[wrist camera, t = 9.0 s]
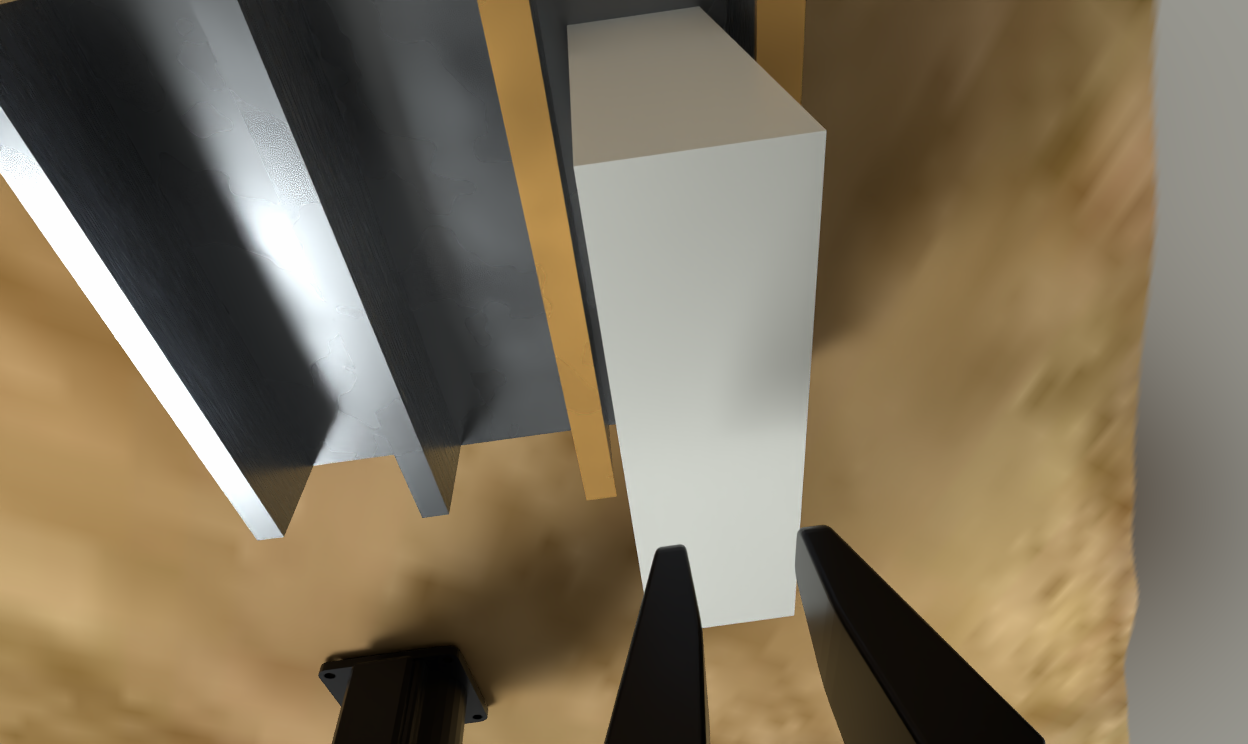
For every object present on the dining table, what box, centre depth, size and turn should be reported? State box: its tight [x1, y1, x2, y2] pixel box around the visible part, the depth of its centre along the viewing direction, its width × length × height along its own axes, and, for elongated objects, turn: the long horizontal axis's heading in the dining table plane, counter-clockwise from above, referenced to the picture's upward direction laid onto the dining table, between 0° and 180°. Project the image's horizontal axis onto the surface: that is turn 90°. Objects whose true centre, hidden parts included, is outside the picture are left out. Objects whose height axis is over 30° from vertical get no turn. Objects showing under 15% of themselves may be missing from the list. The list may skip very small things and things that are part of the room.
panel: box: [567, 6, 827, 628], centre depth 14 cm, size 10×3×9 cm, turn 7°
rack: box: [0, 0, 806, 540], centre depth 17 cm, size 14×16×4 cm
